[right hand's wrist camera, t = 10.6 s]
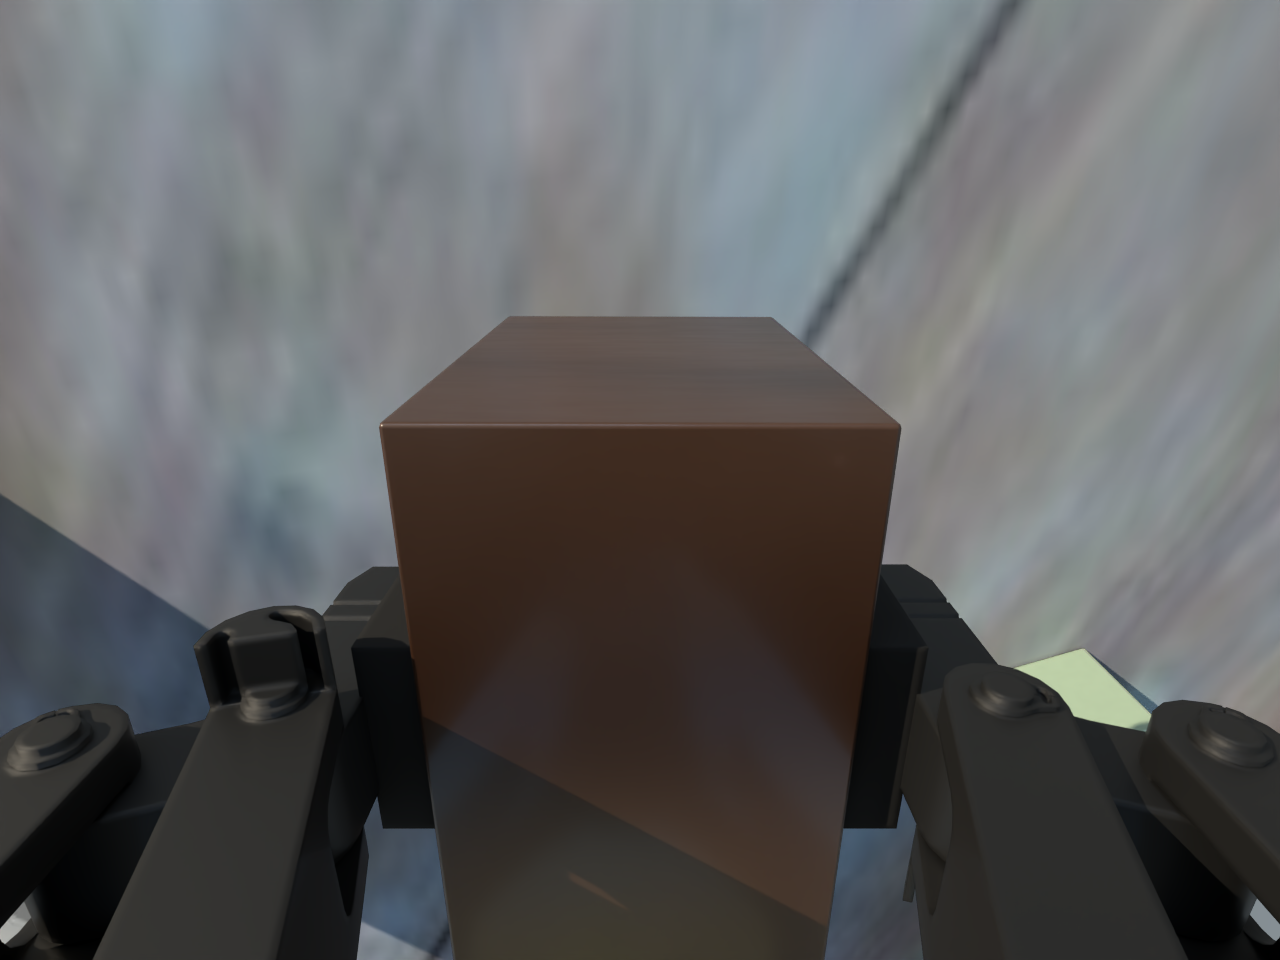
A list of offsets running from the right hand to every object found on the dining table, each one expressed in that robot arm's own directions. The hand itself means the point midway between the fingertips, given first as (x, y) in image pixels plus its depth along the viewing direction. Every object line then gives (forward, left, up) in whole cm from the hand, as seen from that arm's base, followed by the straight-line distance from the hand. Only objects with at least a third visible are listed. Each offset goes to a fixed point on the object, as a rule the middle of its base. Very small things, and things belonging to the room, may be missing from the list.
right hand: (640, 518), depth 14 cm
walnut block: (0, +11, 0) cm, 11 cm away
